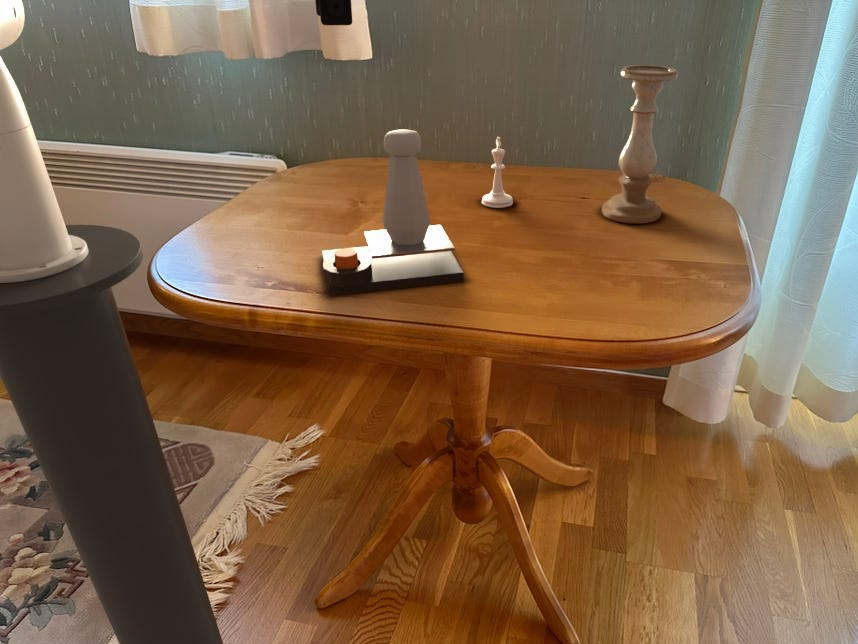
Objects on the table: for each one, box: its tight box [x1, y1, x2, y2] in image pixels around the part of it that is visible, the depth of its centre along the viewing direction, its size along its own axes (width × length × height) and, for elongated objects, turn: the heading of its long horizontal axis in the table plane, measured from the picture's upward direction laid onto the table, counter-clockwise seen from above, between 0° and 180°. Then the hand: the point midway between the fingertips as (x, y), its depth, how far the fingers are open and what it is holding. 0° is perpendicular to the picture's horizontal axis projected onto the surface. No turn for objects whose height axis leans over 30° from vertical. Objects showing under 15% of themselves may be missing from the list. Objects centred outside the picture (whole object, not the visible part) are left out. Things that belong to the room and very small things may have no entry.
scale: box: [321, 245, 465, 297], centre depth 83 cm, size 16×12×3 cm
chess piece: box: [481, 136, 514, 209], centre depth 103 cm, size 5×5×10 cm
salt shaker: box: [381, 128, 431, 245], centre depth 80 cm, size 6×6×13 cm
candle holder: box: [601, 64, 679, 224], centre depth 96 cm, size 9×9×20 cm
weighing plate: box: [363, 224, 456, 259], centre depth 84 cm, size 10×8×1 cm
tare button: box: [334, 247, 358, 269], centre depth 78 cm, size 3×3×2 cm
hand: (333, 20), depth 74 cm, fingers open, 9 cm apart
